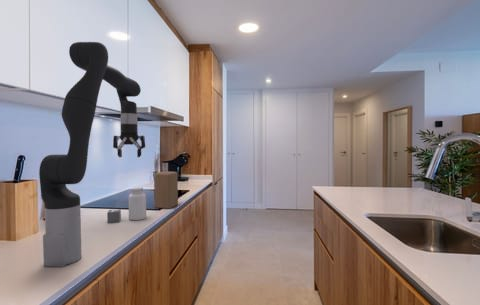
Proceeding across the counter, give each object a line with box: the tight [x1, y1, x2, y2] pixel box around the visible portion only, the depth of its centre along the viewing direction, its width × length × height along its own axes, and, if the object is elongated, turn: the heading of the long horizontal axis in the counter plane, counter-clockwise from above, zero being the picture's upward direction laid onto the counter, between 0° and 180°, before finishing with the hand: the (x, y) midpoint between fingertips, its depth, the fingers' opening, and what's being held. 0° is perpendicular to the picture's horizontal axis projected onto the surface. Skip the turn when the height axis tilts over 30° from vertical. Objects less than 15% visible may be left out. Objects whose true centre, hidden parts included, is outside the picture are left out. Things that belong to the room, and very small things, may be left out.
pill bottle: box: [128, 186, 147, 221], centre depth 128 cm, size 8×8×15 cm
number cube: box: [106, 208, 122, 224], centre depth 123 cm, size 5×5×5 cm
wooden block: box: [153, 171, 179, 210], centre depth 151 cm, size 10×10×20 cm
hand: (129, 157), depth 126 cm, fingers open, 8 cm apart
